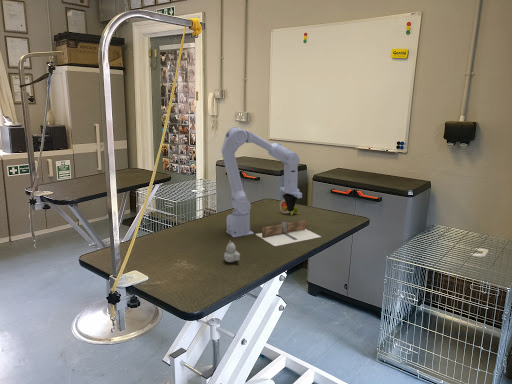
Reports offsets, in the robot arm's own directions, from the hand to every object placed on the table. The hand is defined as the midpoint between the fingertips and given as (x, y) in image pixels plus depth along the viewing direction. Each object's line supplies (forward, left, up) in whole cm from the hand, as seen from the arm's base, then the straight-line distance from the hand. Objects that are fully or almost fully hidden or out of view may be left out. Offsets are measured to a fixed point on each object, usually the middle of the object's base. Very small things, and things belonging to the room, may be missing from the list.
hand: (290, 210), depth 174 cm
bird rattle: (+10, +19, -8) cm, 23 cm away
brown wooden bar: (-1, -5, -7) cm, 9 cm away
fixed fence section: (-11, -5, -7) cm, 15 cm away
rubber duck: (-38, -21, -8) cm, 44 cm away
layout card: (-7, -8, -8) cm, 13 cm away
